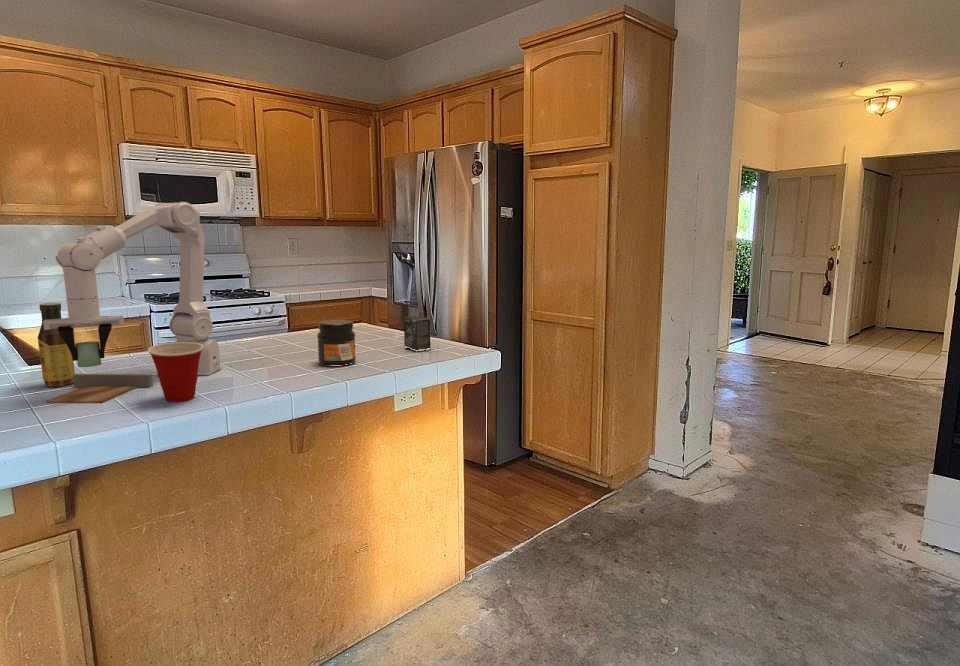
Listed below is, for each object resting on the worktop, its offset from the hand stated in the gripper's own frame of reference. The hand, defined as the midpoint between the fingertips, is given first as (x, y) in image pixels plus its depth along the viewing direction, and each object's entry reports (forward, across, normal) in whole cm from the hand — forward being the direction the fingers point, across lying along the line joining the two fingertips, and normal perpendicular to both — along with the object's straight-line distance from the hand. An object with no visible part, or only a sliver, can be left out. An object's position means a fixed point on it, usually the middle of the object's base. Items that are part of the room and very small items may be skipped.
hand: (89, 358), depth 126 cm
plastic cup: (+9, -16, +13) cm, 23 cm away
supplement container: (+9, -58, -4) cm, 59 cm away
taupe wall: (+8, -4, -6) cm, 11 cm away
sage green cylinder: (+1, 0, 0) cm, 1 cm away
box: (+9, -87, -11) cm, 88 cm away
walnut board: (+8, 0, 0) cm, 8 cm away
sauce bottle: (+9, +7, -15) cm, 18 cm away
